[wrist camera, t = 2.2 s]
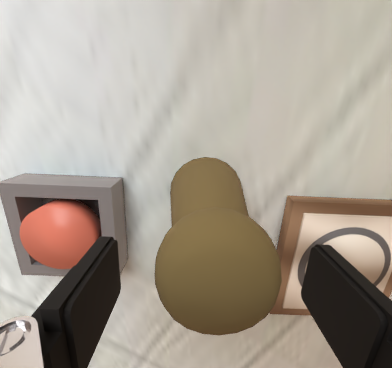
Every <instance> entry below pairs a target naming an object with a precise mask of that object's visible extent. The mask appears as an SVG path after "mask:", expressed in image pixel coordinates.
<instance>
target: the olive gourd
mask: <svg viewBox="0 0 392 368" xmlns="http://www.w3.org/2000/svg"><path fill="white" fill-rule="evenodd" d="M170 195H171V218H172V228H171V229H170V230H169V231H168V232H167V234H166V235H165V237H164V239H163V241H162V243H161V245H160V247H159V250H158V253H157V256H156V264H155V285H156V288H157V291H158V294H159V297H160V300H161V302H162V304H163V305H164V307H165V309H166V310H167V311H168V312H169V314H170V315H171V316H172V318H173V319H174V320H175V321H177V322H178V323H180V324H181V325H183V326H184V327H186V328H187V329H190V330H193V331H196V332H199V333H202V334H211V335H225V334H232V333H237V332H240V331H243V330H245V329H248V328H250V327H253V326H254V325H255V324H257V323H258V322H260V321H261V320H262V319H264V318H265V317H266V316H267V315H268V313H269V312H270V311H271V309H272V308H273V307H274V305H275V303H276V300H277V297H278V294H279V290H280V286H281V283H282V276H281V264H280V259H279V254H278V252H277V250H276V248H275V246H274V244H273V242H272V241H271V239H270V237H269V236H268V234H267V233H266V231H265V230H264V229H263V228H261V227H260V226H259V225H258V224H257V223H256V222H255V221H254V220H253V219H251V218H250V217H249V216H248V212H247V208H246V204H245V199H244V195H243V191H242V187H241V183H240V180H239V178H238V176H237V174H236V172H235V171H234V170H233V169H232V168H231V167H230V166H229V165H228V164H227V163H225V162H223V161H221V160H219V159H216V158H208V157H204V158H198V159H194V160H192V161H190V162H188V163H186V164H184V165H183V166H182V167H181V168H180V169H179V170H178V171H177V172H176V174H175V176H174V178H173V181H172V183H171V192H170Z"/></svg>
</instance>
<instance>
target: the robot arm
mask: <svg viewBox="0 0 392 368" xmlns="http://www.w3.org/2000/svg"><path fill="white" fill-rule="evenodd" d="M120 289H121V283H120V269H119V255H118V242H117V240H114V238H113V237H106V236H100V237H99V238H98V239H97V240H96V241H95V243H94V244H93V245H92V246H91V247H90V249H89V250H88V251H87V252H86V254H85V255H84V256H83V257H82V258H81V260H80V261H79V262H78V263H77V264H76V265H74V266H73V267H72V268H71V269H70V271H69V272H68V273H67V274H66V275H65V277H64V278H63V279H62V280H61V281H60V283H59V284H58V285H57V286H56V287H55V288H54V290H53V291H52V292H51V293H50V294H49V296H48V297H47V298H46V299H45V300H44V302H43V303H42V304H41V305H40V306H39V307H38V309H37V310H36V311H35V312H34V313H33V315H32V316H19V317H14V318H12V319H9V320H6V321H4V322H2V323H0V368H87V367H88V365H89V362H90V360H91V358H92V356H93V353H94V351H95V349H96V346H97V344H98V342H99V340H100V337H101V335H102V333H103V330H104V328H105V326H106V324H107V321H108V319H109V317H110V314H111V312H112V310H113V308H114V305H115V303H116V301H117V298H118V296H119V294H120ZM301 298H302V300H303V302H304V304H305V305H306V307H307V309H308V310H309V312H310V314H311V315H312V317H313V319H314V320H315V322H316V324H317V325H318V327H319V329H320V330H321V332H322V334H323V335H324V337H325V338H326V340H327V342H328V343H329V345H330V347H331V348H332V350H333V352H334V353H335V355H336V357H337V358H338V360H339V362H340V363H341V365H342V367H343V368H392V301H391V300H390V299H389V298H388V297H387V296H386V295H385V294H384V293H382V292H381V291H380V290H379V289H378V288H377V287H376V286H375V285H374V284H373V283H371V282H370V281H369V280H368V279H367V278H366V277H365V276H364V275H363V274H362V273H360V272H359V271H358V270H357V269H356V268H355V267H354V266H353V265H352V264H351V263H349V262H348V261H347V260H346V259H345V258H344V257H343V256H342V255H341V254H340V253H338V252H337V251H336V250H335V249H334V248H333V247H332V246H330V245H323V244H316V245H315V246H314V247H312V248H311V251H310V255H309V259H308V264H307V268H306V272H305V276H304V281H303V285H302V289H301Z"/></svg>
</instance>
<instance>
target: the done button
mask: <svg viewBox="0 0 392 368" xmlns="http://www.w3.org/2000/svg"><path fill="white" fill-rule="evenodd" d="M100 236H102V231H101V222H100V220H99V218H98V216H97V215H96V213H95V212H94V211H93V210H92V209H91V208H90V207H88V206H87V205H85V204H84V203H82V202H80V201H77V200H74V199H62V198H60V199H55V200H52V201H50V202H48V203H46V204H44V205H43V206H41V207H39V208H38V209H36V210H34V211H33V212H31V213H30V214H28V215H27V216H26V217H25V218H24V220H23V221H22V223H21V226H20V239H21V242H22V244H23V247H24V248H25V250H26V251H27V252H28V254H29V255H30V256H31V257H32V258H34V259H35V260H36V261H38V262H39V263H41V264H43V265H45V266H48V267H51V268H56V269H71V268H72V267H73V266H74V265H76V264H77V263H78V262H79V261H80V260H81V258H82V257H83V256H84V255H85V254H86V252H87V251H88V250H89V249H90V247H91V246H92V245H93V244H94V243H95V241H96V240H97V239H98V238H99V237H100Z"/></svg>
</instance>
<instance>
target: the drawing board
mask: <svg viewBox="0 0 392 368" xmlns="http://www.w3.org/2000/svg"><path fill="white" fill-rule="evenodd" d="M316 244H323V245H330V246H332V247H333V248H334V249H335V250H336V251H337V252H338V253H340V254H341V255H342V256H343V257H344V258H345V259H346V260H347V261H348V262H349V263H351V264H352V265H353V266H354V267H355V268H356V269H357V270H358V271H359V272H360V273H362V274H363V275H364V276H365V277H366V278H367V279H368V280H369V281H370V282H371V283H373V284H374V285H375V286H376V287H377V288H378V289H379V290H380V291H381V292H382V293H384V294H385V295H386V296H387V297H388V298H389V296H390V294H391V291H392V200H377V199H353V198H329V197H305V196H287V201H286V206H285V211H284V216H283V221H282V226H281V231H280V236H279V241H278V246H277V252H278V254H279V259H280V264H281V276H282V283H281V286H280V290H279V294H278V297H277V300H276V303H275V305H274V307H273V308H272V309H271V311H270V314H289V315H311V314H310V312H309V310H308V309H307V307H306V305H305V304H304V302H303V300H302V298H301V289H302V285H303V281H304V276H305V272H306V268H307V264H308V259H309V255H310V251H311V248H312V247H314V246H315V245H316Z"/></svg>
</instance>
